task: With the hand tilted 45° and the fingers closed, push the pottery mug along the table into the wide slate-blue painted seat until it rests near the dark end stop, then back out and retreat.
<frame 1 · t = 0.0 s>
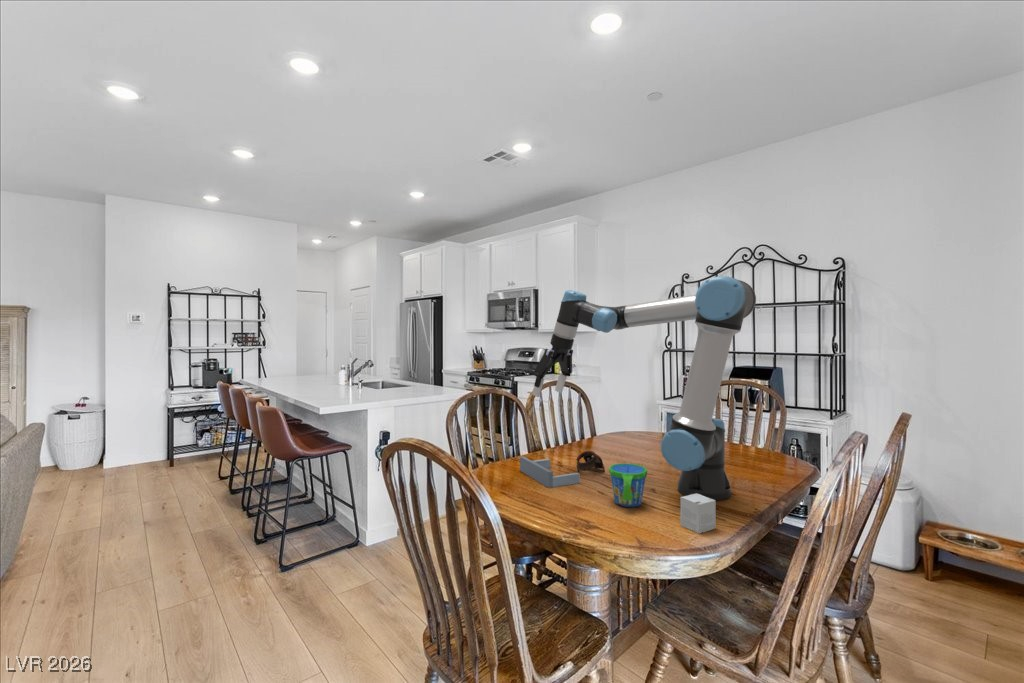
hand: (547, 393, 166), 28 cm above the table, tool tilted 20°, fingers open, 13 cm apart
snack cup: (627, 504, 137), on the table
skincare box: (697, 528, 120), on the table
seat channel: (555, 475, 164), on the table
pottery mug: (590, 471, 170), on the table
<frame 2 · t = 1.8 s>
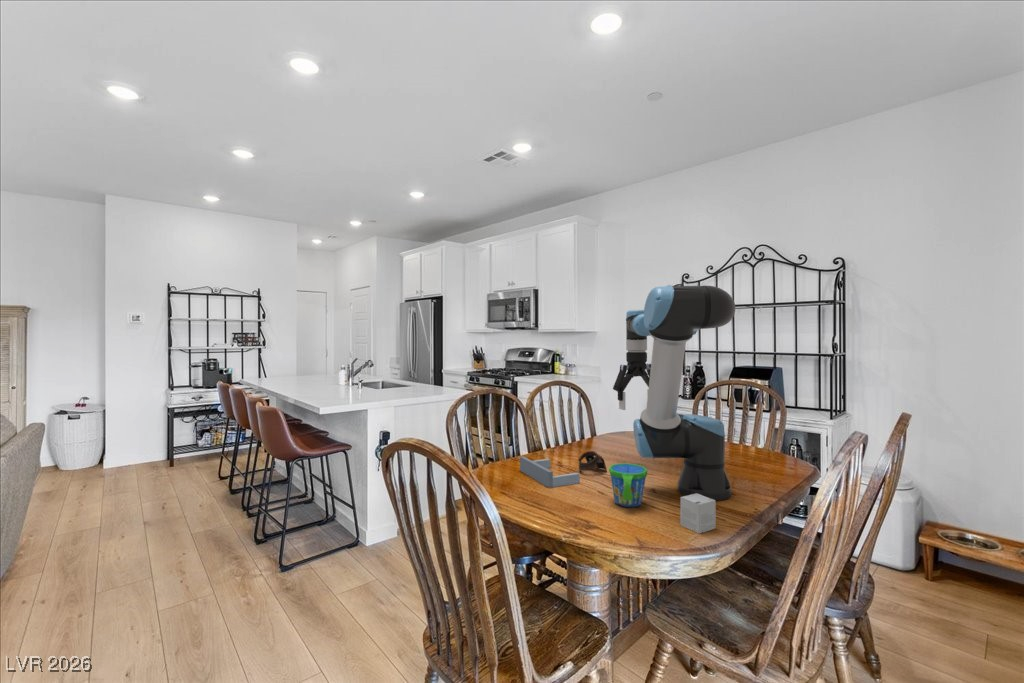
hand: (636, 408, 178), 21 cm above the table, tool pointing down, fingers open, 13 cm apart
nothing on the table moved.
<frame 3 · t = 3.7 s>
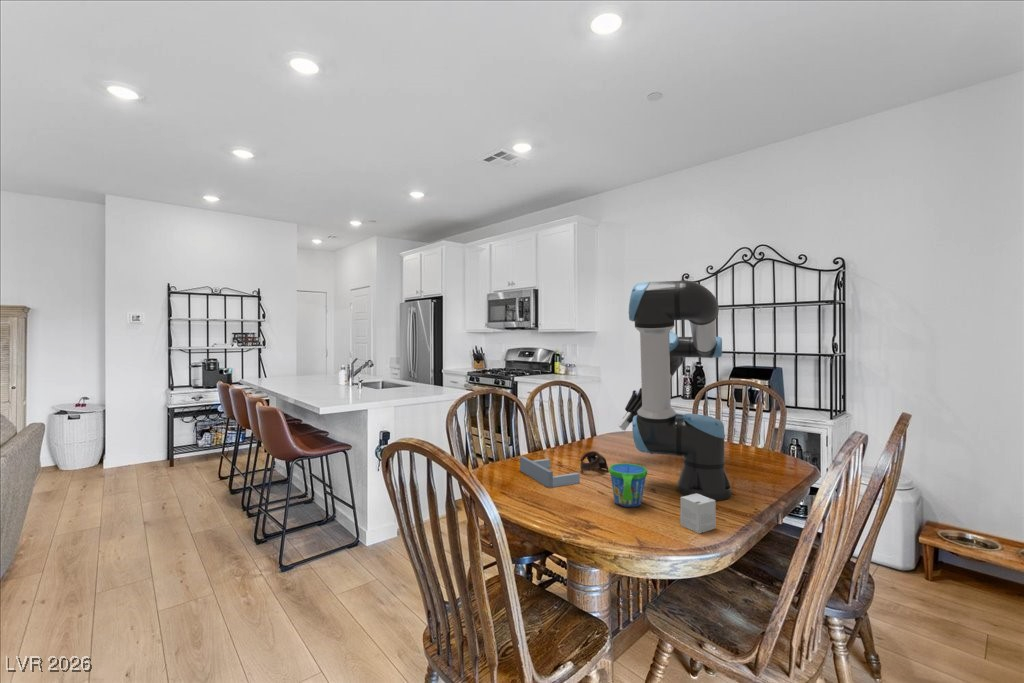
hand: (621, 427, 175), 14 cm above the table, tool tilted 45°, fingers closed
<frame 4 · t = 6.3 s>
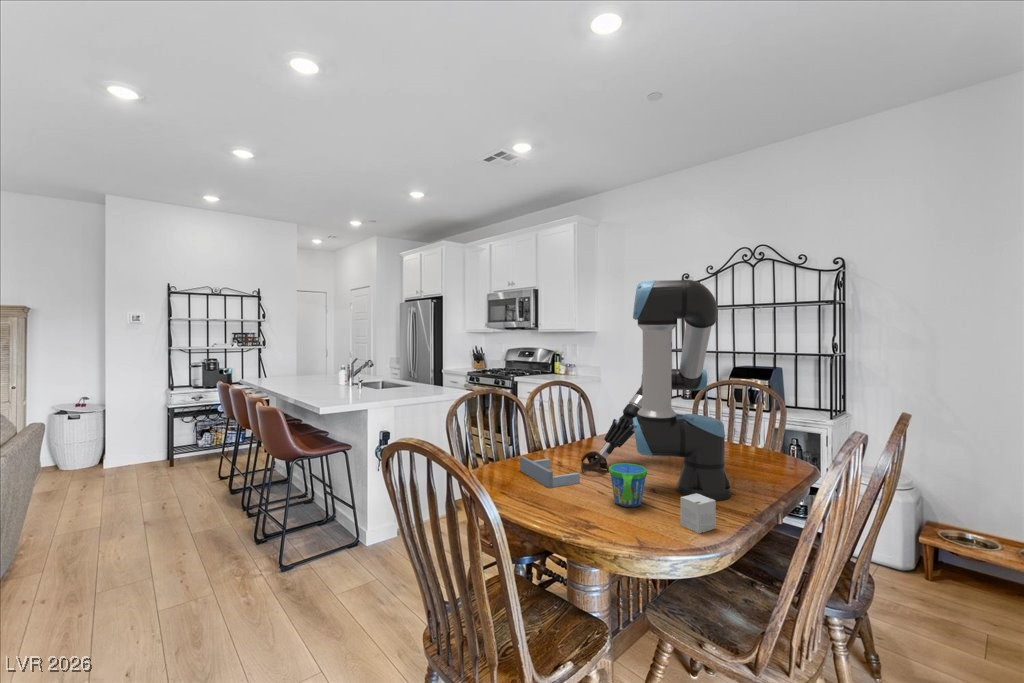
hand: (600, 459, 173), 3 cm above the table, tool tilted 45°, fingers closed
pottery mug: (594, 472, 169), on the table, touching gripper
everything else where it was.
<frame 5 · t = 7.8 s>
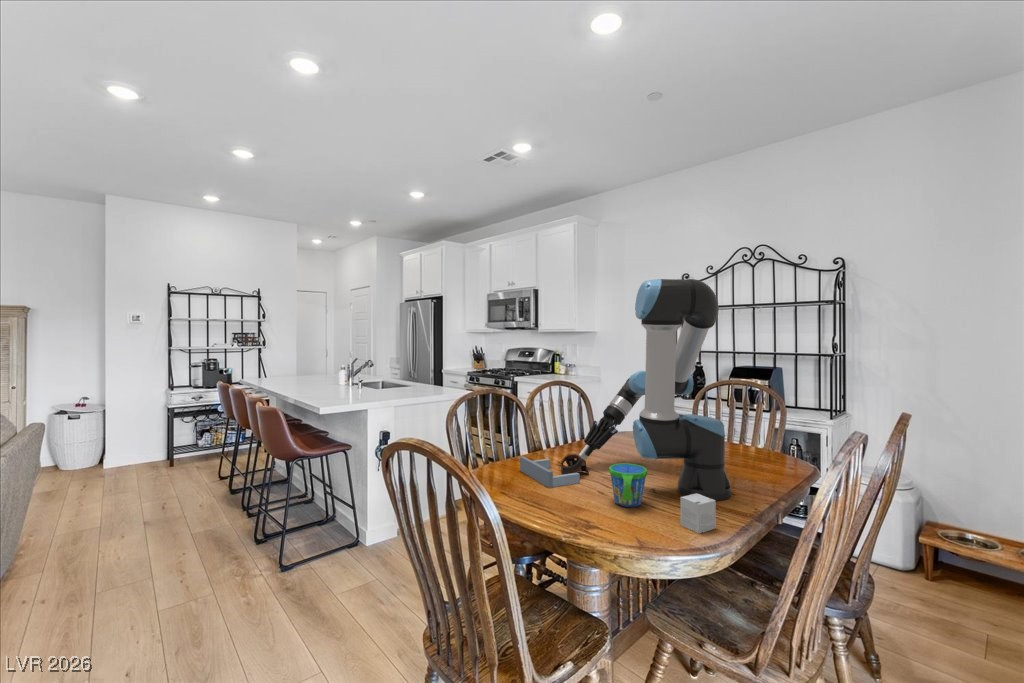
hand: (579, 461, 170), 3 cm above the table, tool tilted 45°, fingers closed
pottery mug: (573, 475, 165), on the table, touching gripper
everything else where it was.
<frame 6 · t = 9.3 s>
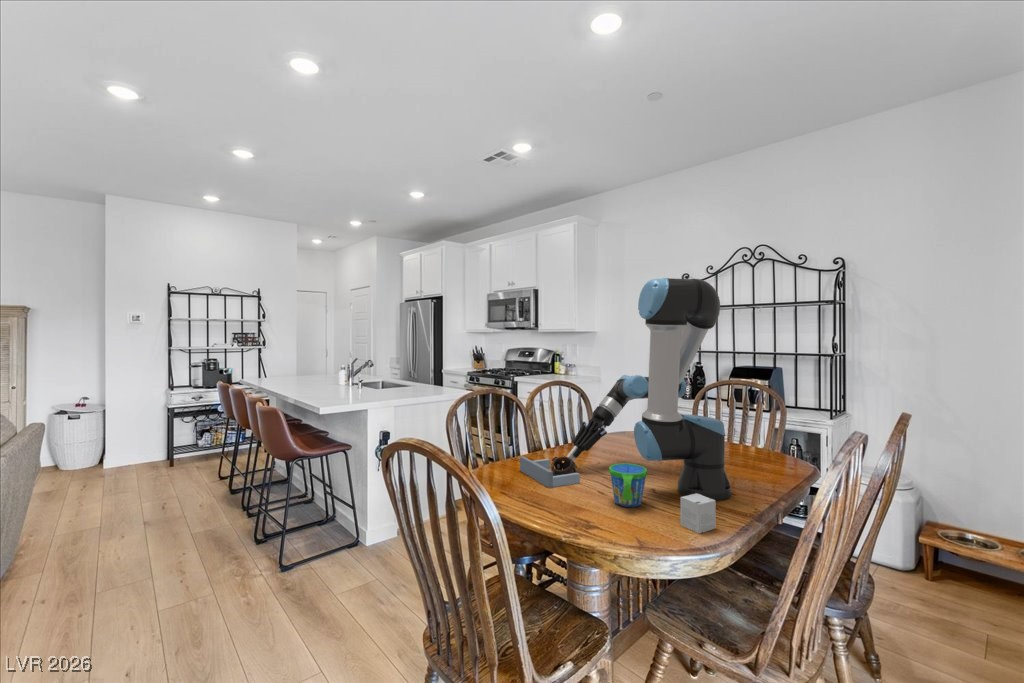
hand: (566, 463, 166), 4 cm above the table, tool tilted 45°, fingers closed
pottery mug: (563, 478, 162), on the table, touching gripper, seat channel
everything else where it was.
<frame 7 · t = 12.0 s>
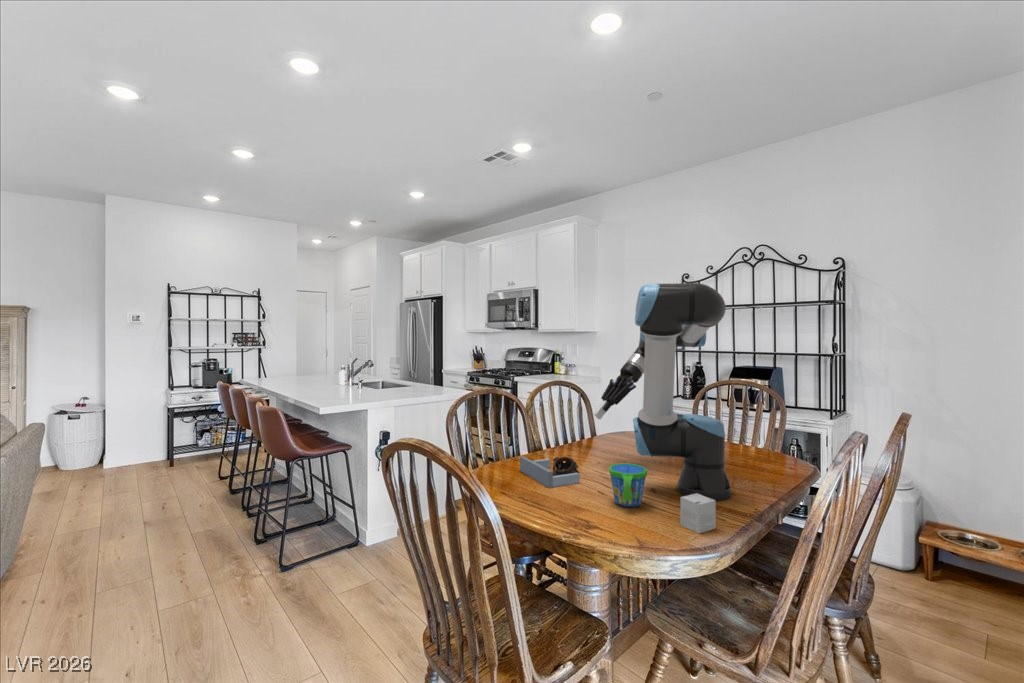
hand: (596, 416, 170), 19 cm above the table, tool tilted 45°, fingers closed
pottery mug: (564, 478, 162), on the table
everything else where it was.
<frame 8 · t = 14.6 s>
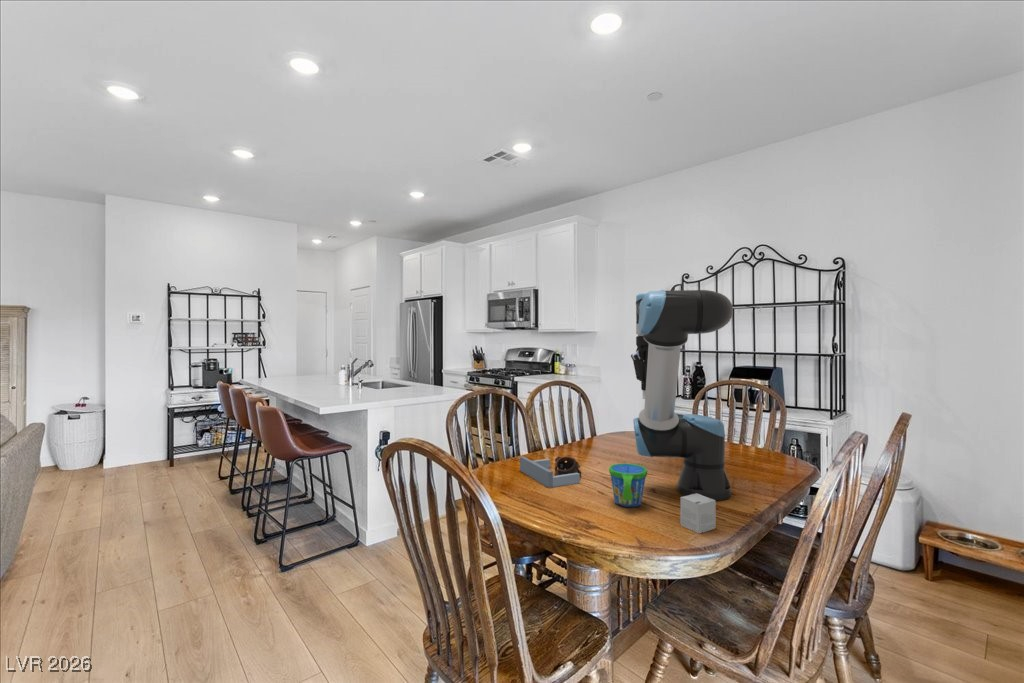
hand: (646, 398, 177), 24 cm above the table, tool pointing down, fingers closed
nothing on the table moved.
at the end: pottery mug 3.9 cm from the seat channel (horizontally); pottery mug moved 11.9 cm from its start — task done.
